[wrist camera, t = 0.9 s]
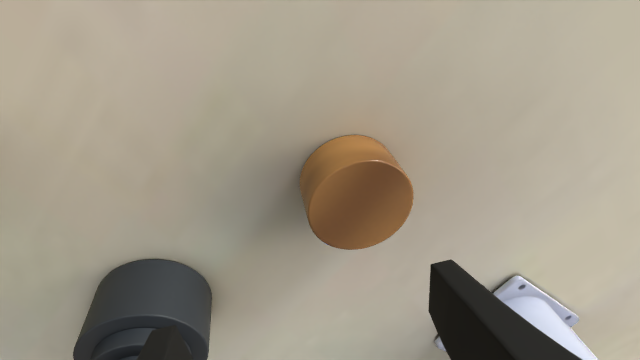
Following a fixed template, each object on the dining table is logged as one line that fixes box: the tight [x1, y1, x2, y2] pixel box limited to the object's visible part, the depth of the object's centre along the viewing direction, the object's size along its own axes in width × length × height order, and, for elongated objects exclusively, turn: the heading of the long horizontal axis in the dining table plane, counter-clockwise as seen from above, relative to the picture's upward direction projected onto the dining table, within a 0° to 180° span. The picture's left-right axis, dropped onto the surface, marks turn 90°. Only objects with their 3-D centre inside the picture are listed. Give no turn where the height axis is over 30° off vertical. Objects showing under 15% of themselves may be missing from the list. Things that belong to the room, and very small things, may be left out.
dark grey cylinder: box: [73, 259, 212, 360], centre depth 19 cm, size 6×6×6 cm
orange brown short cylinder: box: [300, 135, 413, 250], centre depth 18 cm, size 5×5×3 cm
